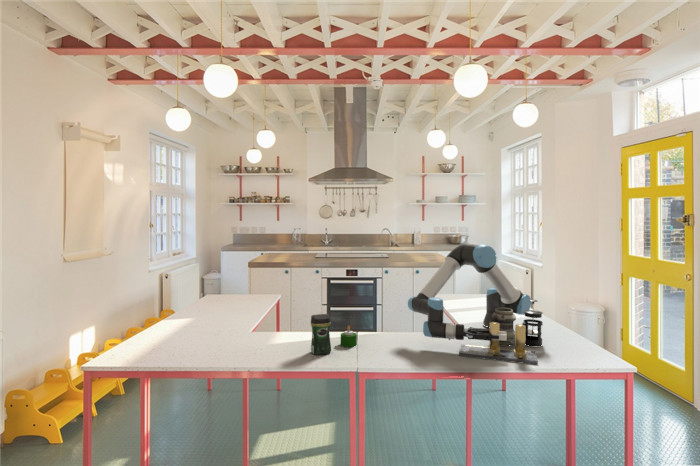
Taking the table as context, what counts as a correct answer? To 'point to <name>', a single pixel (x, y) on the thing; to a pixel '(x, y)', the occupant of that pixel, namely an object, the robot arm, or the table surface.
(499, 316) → the grey brown stone vase
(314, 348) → the coffee jar
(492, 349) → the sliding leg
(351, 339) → the candle
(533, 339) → the french press
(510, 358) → the bolt plate
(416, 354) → the table surface
